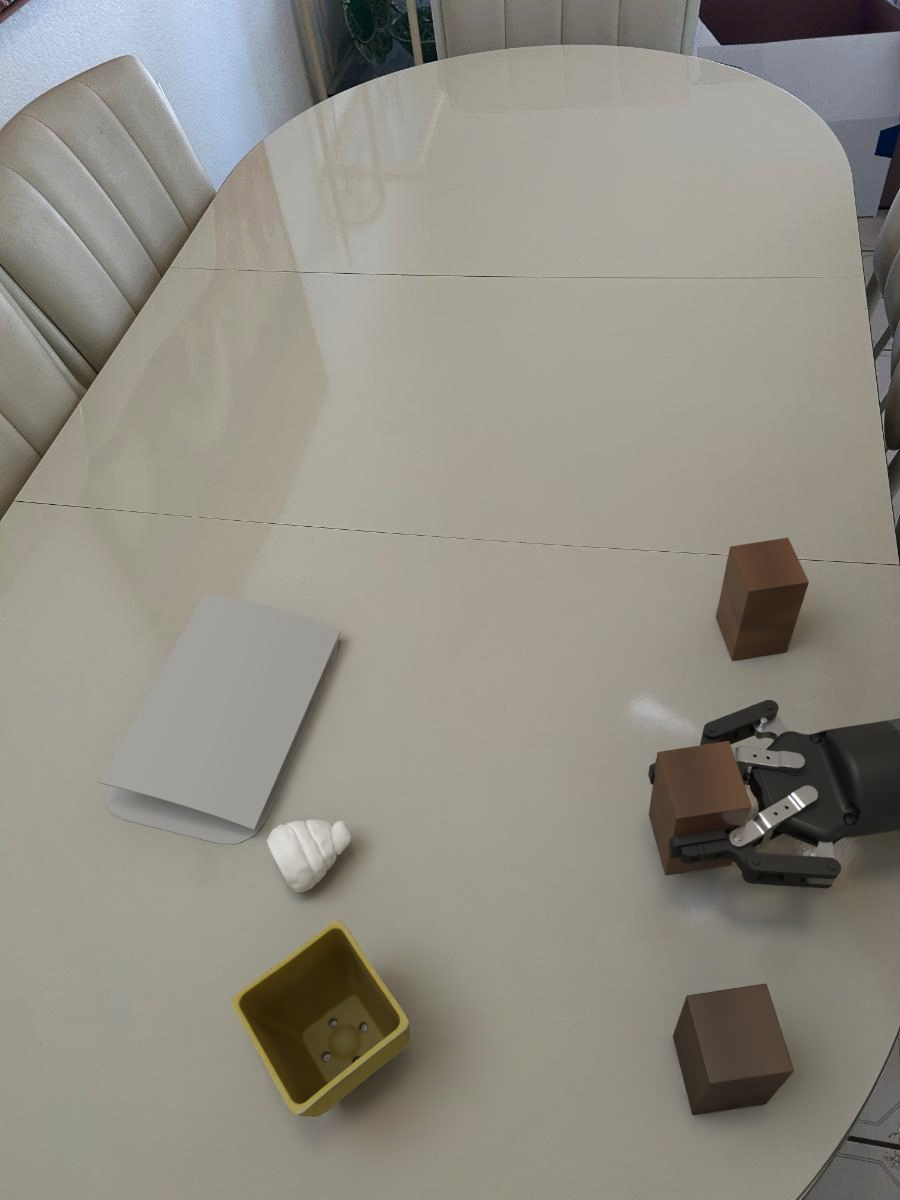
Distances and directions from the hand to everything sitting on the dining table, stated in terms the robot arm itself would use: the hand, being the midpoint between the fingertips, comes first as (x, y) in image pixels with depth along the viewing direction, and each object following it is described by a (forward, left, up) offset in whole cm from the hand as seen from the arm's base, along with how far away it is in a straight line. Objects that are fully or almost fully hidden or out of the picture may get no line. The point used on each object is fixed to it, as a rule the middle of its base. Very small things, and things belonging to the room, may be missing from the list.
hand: (661, 810), depth 66 cm
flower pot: (+23, +13, -9) cm, 28 cm away
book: (+36, -15, -9) cm, 40 cm away
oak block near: (-3, +15, -9) cm, 18 cm away
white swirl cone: (+26, -1, -9) cm, 28 cm away
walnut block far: (-12, -21, -9) cm, 26 cm away
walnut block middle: (-3, 0, -6) cm, 7 cm away
